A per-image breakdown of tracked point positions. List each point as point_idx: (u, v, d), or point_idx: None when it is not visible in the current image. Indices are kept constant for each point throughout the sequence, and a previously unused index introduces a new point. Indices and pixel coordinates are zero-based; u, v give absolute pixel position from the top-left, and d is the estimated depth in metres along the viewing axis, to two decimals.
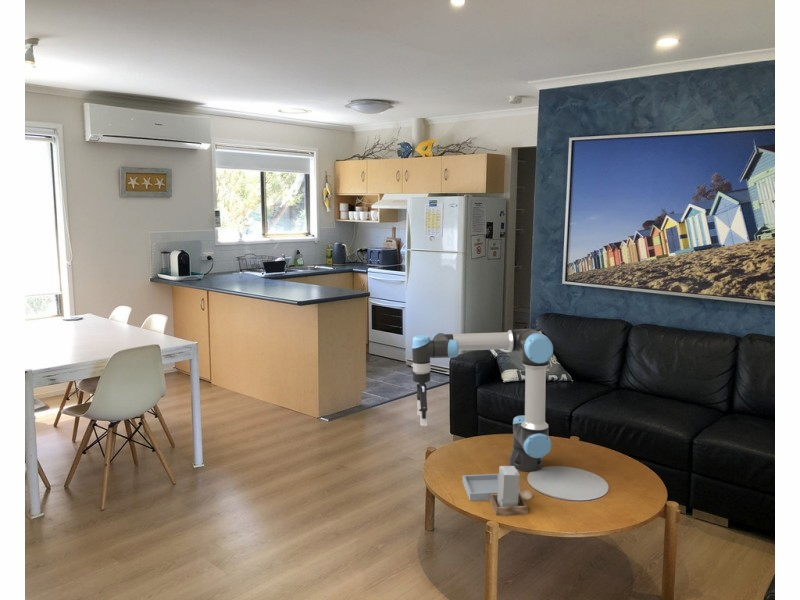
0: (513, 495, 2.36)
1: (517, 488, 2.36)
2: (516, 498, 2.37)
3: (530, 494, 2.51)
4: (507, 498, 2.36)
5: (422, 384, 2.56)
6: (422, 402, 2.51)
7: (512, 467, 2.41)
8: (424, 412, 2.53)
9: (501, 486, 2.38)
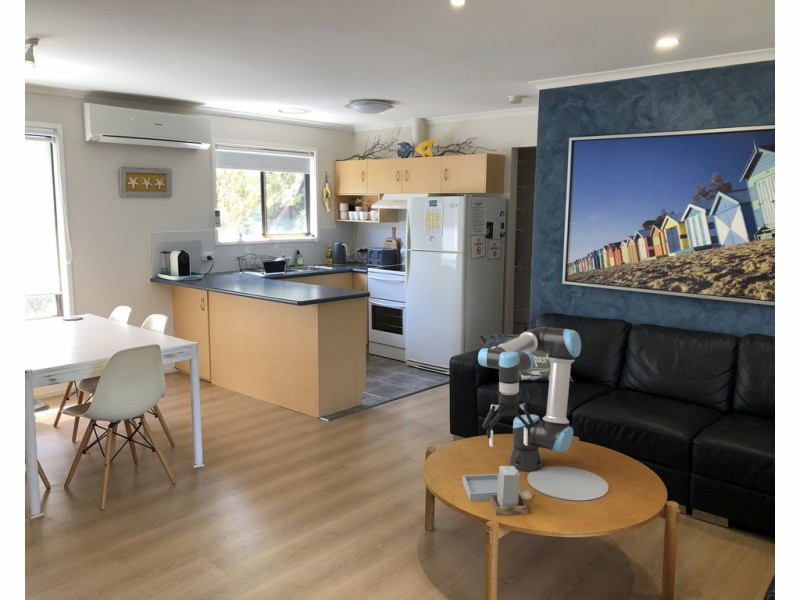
0: (513, 495, 2.36)
1: (517, 488, 2.36)
2: (516, 498, 2.37)
3: (530, 494, 2.51)
4: (507, 498, 2.36)
5: (499, 403, 2.35)
6: (485, 419, 2.36)
7: (512, 467, 2.41)
8: (487, 430, 2.36)
9: (501, 486, 2.38)
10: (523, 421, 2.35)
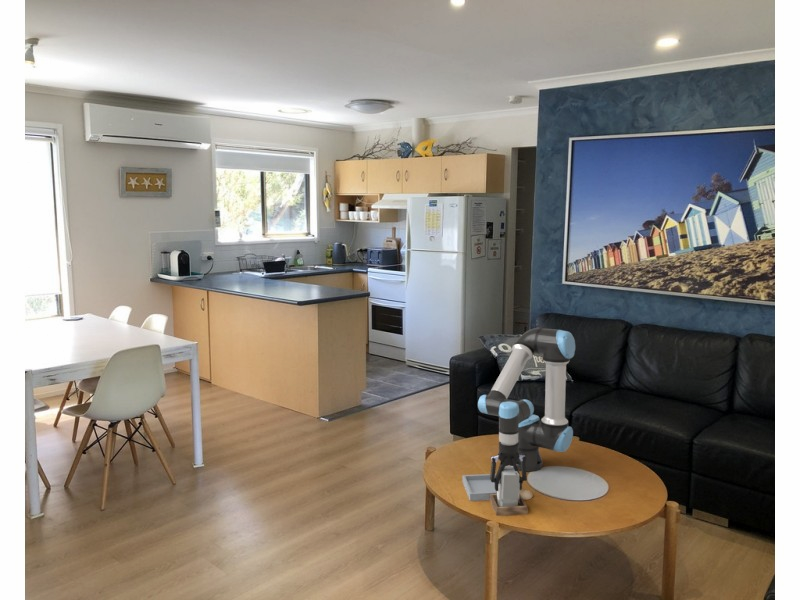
0: (513, 495, 2.36)
1: (517, 488, 2.36)
2: (516, 498, 2.37)
3: (530, 494, 2.51)
4: (507, 498, 2.36)
5: (498, 454, 2.38)
6: None
7: (512, 467, 2.41)
8: (495, 483, 2.39)
9: (501, 486, 2.38)
10: None
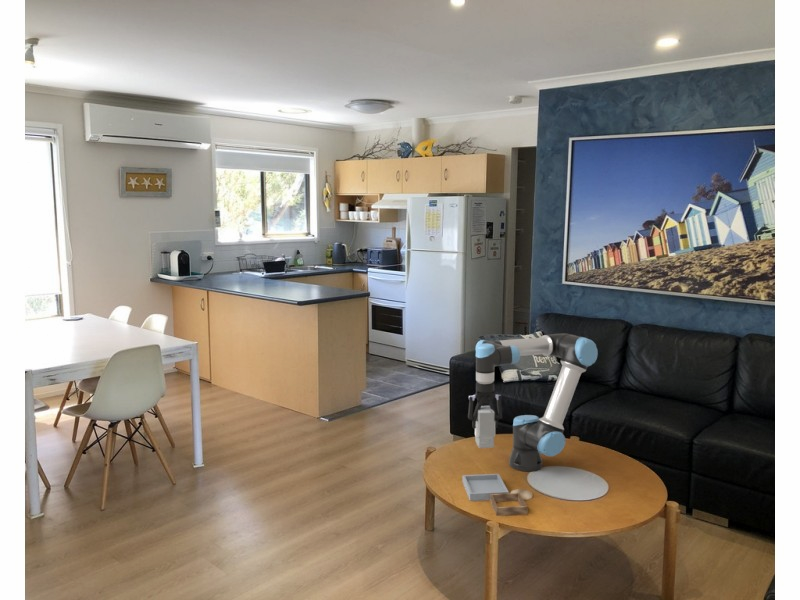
0: (489, 432, 2.49)
1: (493, 425, 2.49)
2: (492, 434, 2.49)
3: (530, 494, 2.51)
4: (483, 435, 2.49)
5: (475, 393, 2.50)
6: (468, 410, 2.52)
7: (488, 406, 2.54)
8: (472, 421, 2.52)
9: None
10: None
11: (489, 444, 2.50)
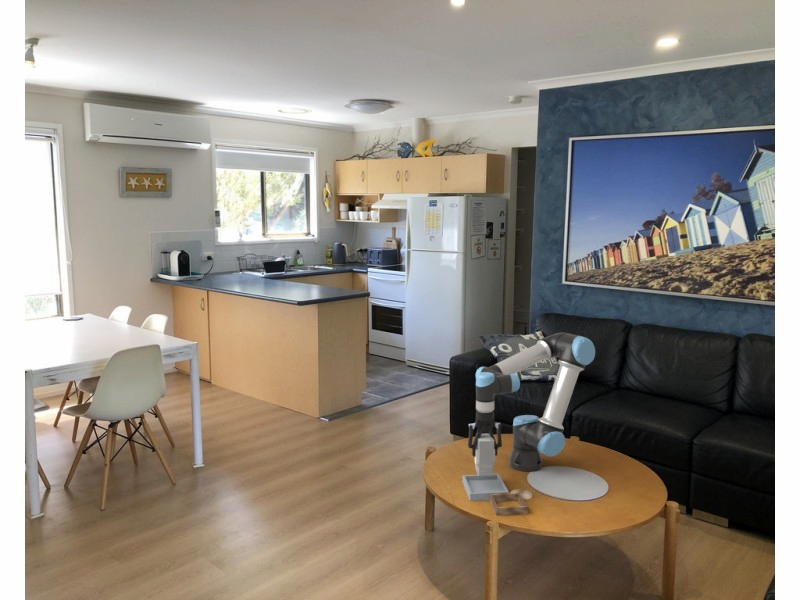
0: (488, 460, 2.51)
1: (493, 453, 2.50)
2: (492, 463, 2.51)
3: (530, 494, 2.51)
4: (483, 463, 2.51)
5: (475, 421, 2.52)
6: (468, 438, 2.54)
7: (487, 434, 2.55)
8: (472, 449, 2.53)
9: None
10: None
11: (489, 472, 2.51)
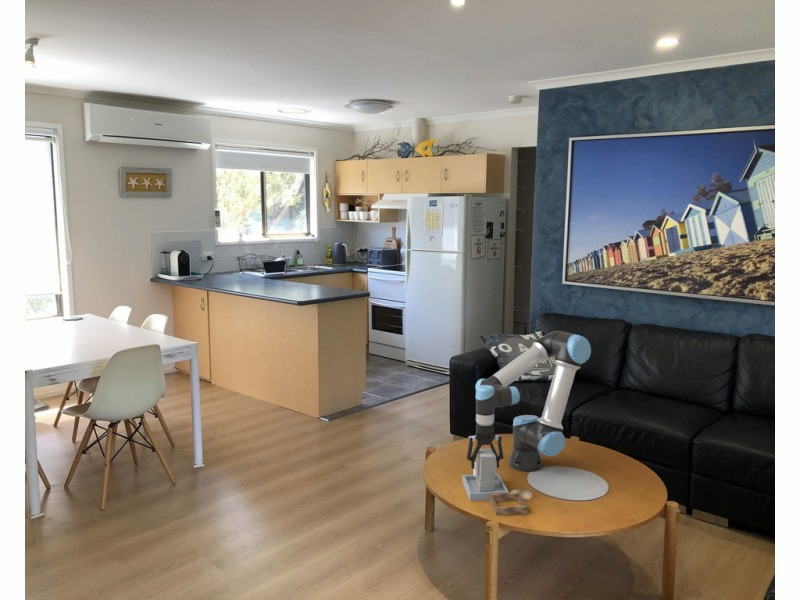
0: (490, 476, 2.52)
1: (494, 469, 2.51)
2: (493, 478, 2.52)
3: (530, 494, 2.51)
4: (484, 478, 2.52)
5: (475, 434, 2.53)
6: None
7: (489, 450, 2.56)
8: (471, 462, 2.54)
9: (479, 467, 2.54)
10: (494, 452, 2.53)
11: (490, 487, 2.52)
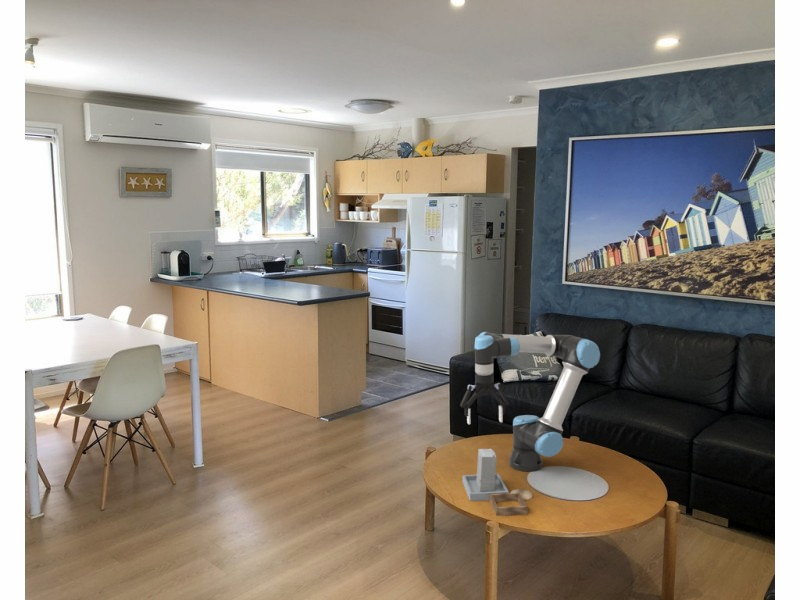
0: (490, 476, 2.52)
1: (495, 469, 2.51)
2: (493, 479, 2.52)
3: (530, 494, 2.51)
4: (485, 479, 2.52)
5: (475, 383, 2.52)
6: (463, 398, 2.53)
7: (490, 450, 2.56)
8: (465, 409, 2.53)
9: (479, 467, 2.54)
10: (498, 399, 2.53)
11: (490, 488, 2.52)
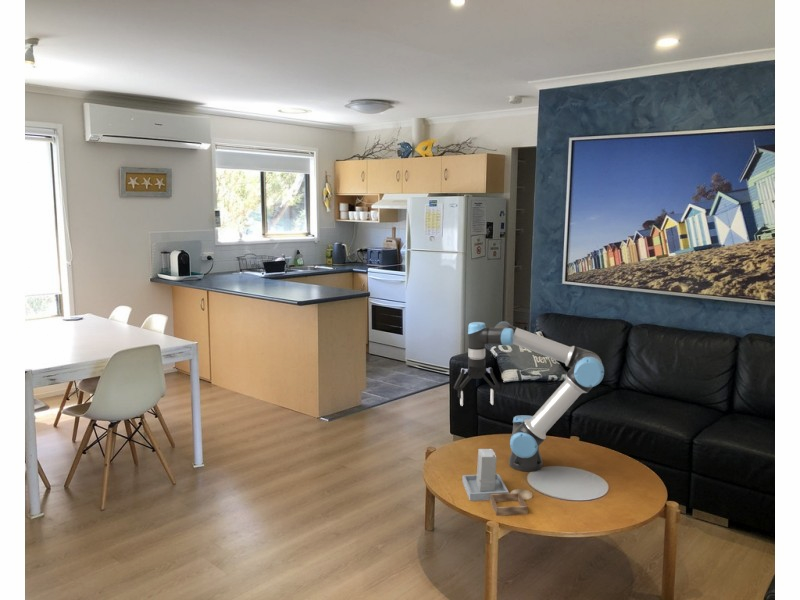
0: (490, 476, 2.52)
1: (495, 469, 2.51)
2: (493, 479, 2.52)
3: (530, 494, 2.51)
4: (485, 479, 2.52)
5: (468, 367, 2.67)
6: (456, 381, 2.69)
7: (490, 450, 2.56)
8: (458, 391, 2.68)
9: (479, 467, 2.54)
10: (489, 383, 2.68)
11: (490, 488, 2.52)
